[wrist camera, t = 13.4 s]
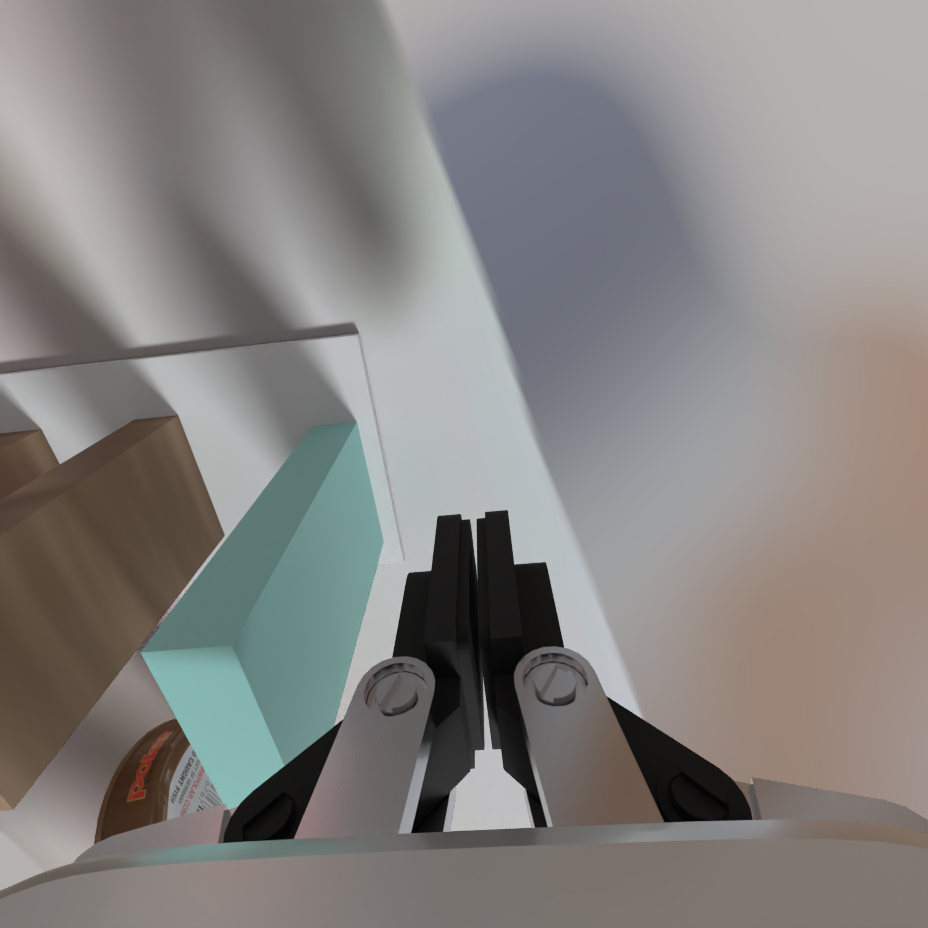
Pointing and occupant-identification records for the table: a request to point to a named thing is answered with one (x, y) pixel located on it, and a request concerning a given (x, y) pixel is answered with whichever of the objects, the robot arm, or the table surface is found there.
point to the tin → (155, 784)
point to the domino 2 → (274, 617)
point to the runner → (215, 413)
